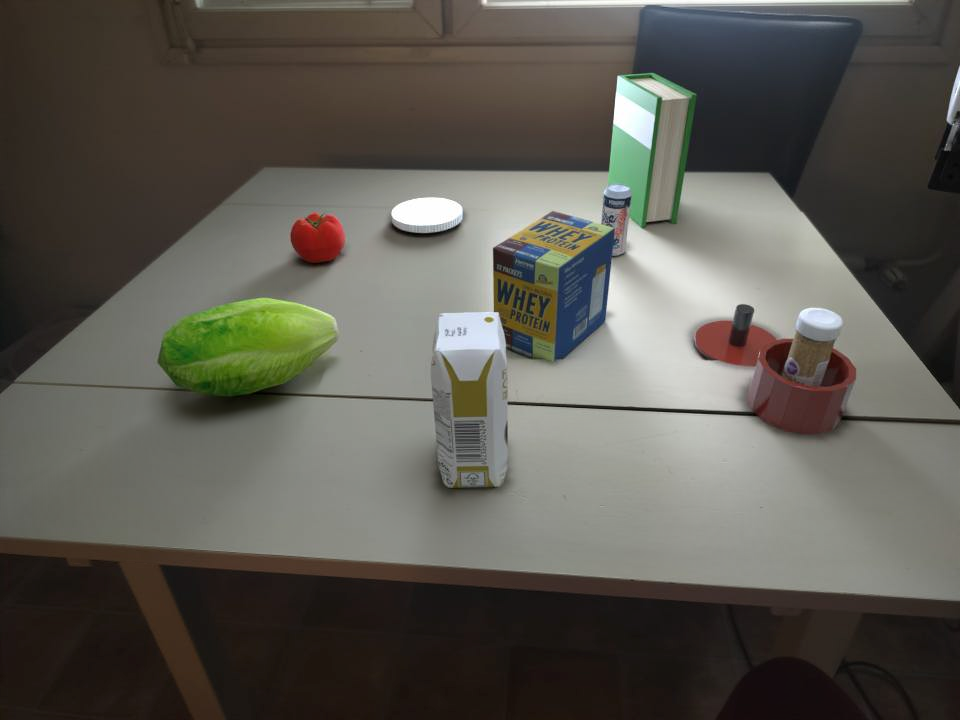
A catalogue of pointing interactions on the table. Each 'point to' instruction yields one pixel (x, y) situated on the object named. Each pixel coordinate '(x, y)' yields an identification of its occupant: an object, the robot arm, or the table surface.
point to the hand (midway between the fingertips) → (947, 175)
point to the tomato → (318, 237)
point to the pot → (799, 392)
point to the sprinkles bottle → (812, 346)
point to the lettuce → (245, 346)
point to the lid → (733, 338)
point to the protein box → (552, 284)
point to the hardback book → (651, 144)
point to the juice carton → (470, 399)
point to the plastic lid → (426, 215)
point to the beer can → (617, 214)
